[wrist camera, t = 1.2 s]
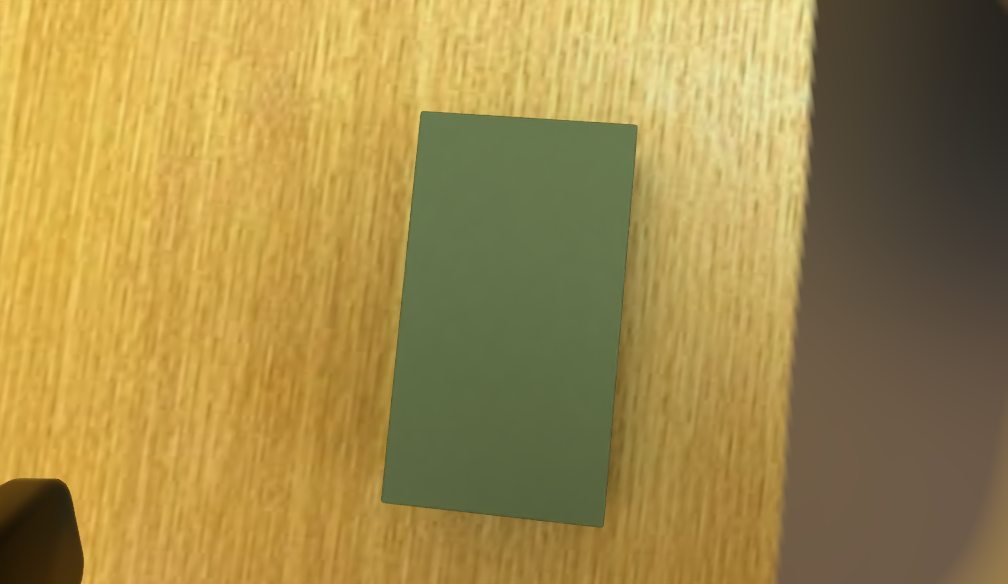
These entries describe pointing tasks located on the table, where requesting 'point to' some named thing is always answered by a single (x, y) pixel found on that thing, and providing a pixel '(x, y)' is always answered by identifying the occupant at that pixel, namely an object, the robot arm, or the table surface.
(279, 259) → the table surface
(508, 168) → the green block
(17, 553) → the robot arm
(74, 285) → the table surface
